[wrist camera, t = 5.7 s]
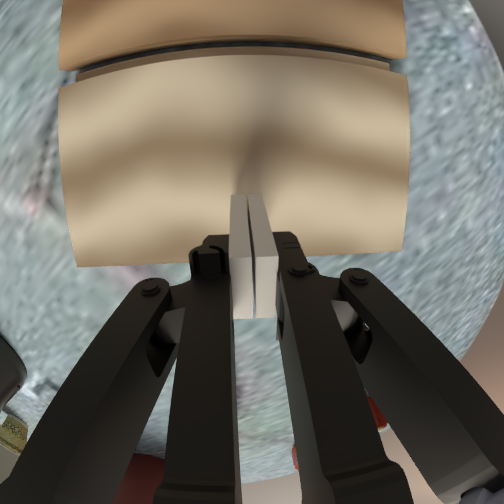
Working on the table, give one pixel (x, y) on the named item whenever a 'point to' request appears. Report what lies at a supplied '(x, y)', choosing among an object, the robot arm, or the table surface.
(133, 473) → the bucket
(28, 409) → the table surface
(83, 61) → the oak plank
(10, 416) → the ceramic cup
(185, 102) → the ash plank
